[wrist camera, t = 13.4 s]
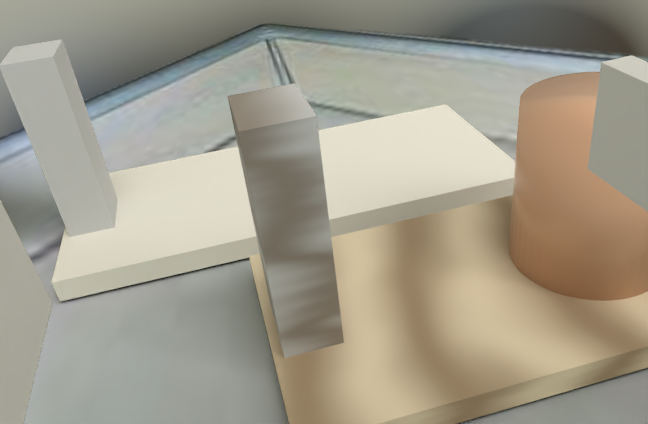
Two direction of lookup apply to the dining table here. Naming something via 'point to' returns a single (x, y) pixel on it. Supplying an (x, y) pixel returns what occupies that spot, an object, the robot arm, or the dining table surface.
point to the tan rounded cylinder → (571, 200)
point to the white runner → (227, 182)
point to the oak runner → (406, 297)
